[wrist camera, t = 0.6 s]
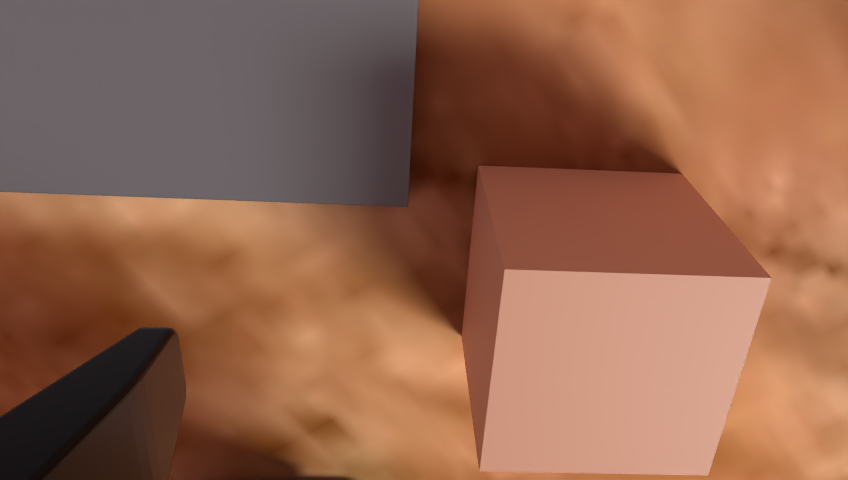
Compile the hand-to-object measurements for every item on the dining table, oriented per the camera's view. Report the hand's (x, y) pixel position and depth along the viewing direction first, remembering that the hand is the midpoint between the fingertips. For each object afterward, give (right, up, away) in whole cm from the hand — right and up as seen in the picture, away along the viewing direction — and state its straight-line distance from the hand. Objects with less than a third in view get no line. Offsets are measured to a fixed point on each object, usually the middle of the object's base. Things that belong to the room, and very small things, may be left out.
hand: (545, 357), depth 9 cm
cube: (+3, +1, +14) cm, 14 cm away
